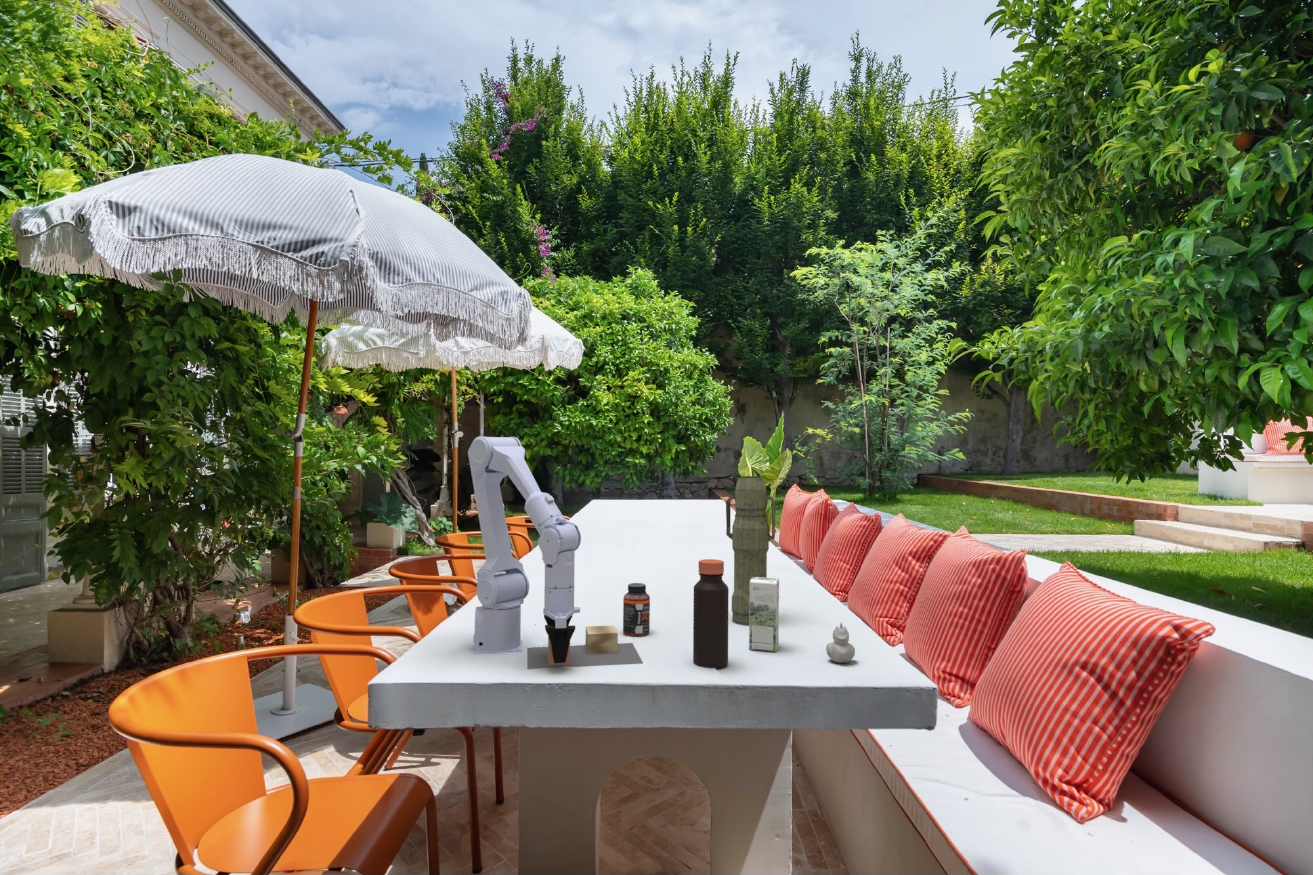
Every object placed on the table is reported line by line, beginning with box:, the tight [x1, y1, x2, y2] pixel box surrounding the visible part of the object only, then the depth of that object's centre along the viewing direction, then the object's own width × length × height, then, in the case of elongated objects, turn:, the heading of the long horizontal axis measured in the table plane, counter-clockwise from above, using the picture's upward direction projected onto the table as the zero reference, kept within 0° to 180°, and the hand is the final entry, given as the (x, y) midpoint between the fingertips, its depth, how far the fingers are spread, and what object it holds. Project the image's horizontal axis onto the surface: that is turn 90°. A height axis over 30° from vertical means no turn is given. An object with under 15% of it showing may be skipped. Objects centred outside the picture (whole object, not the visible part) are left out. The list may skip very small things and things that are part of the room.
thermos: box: [725, 475, 776, 627], centre depth 170 cm, size 9×12×35 cm
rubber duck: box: [825, 621, 856, 664], centre depth 139 cm, size 5×7×8 cm
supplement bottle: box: [622, 582, 651, 638], centre depth 157 cm, size 6×6×11 cm
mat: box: [526, 642, 644, 670], centre depth 140 cm, size 22×14×1 cm, turn 100°
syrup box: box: [748, 577, 780, 653], centre depth 148 cm, size 6×6×14 cm
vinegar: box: [692, 558, 729, 670], centre depth 137 cm, size 7×7×20 cm
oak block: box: [585, 625, 619, 654], centre depth 145 cm, size 6×6×4 cm
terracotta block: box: [547, 636, 571, 665], centre depth 136 cm, size 4×4×4 cm
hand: (558, 656), depth 136 cm, fingers open, 7 cm apart
